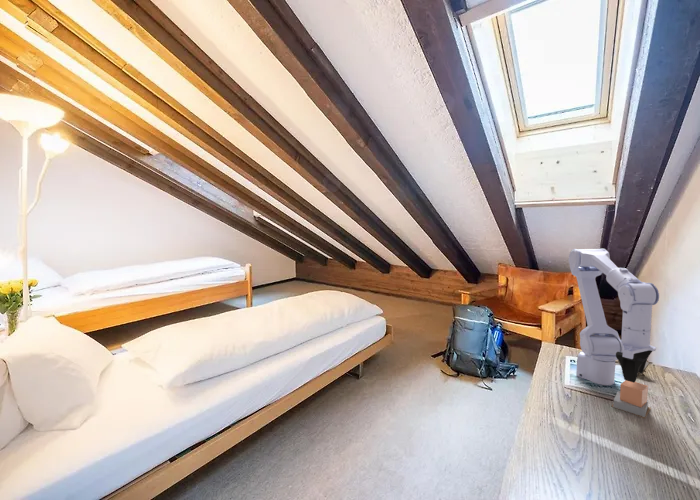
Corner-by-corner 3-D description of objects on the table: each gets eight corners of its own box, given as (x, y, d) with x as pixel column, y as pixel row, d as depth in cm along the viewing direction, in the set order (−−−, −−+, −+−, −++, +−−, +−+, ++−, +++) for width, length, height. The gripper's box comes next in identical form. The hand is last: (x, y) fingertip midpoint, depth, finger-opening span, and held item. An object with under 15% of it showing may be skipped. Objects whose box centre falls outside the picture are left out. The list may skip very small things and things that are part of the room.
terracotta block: (619, 399, 87) (620, 384, 87) (626, 394, 89) (626, 379, 89) (641, 407, 83) (642, 391, 83) (647, 401, 86) (648, 385, 85)
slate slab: (613, 406, 87) (613, 400, 87) (617, 397, 91) (618, 390, 91) (644, 417, 82) (645, 410, 82) (647, 406, 87) (648, 400, 86)
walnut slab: (610, 412, 88) (611, 406, 88) (618, 402, 92) (618, 396, 92) (644, 425, 82) (645, 418, 82) (650, 414, 86) (651, 407, 86)
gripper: (649, 338, 77) (646, 391, 78) (662, 325, 86) (659, 372, 87) (613, 331, 83) (611, 380, 84) (628, 319, 91) (626, 364, 93)
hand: (633, 376), depth 86 cm, fingers open, 7 cm apart
